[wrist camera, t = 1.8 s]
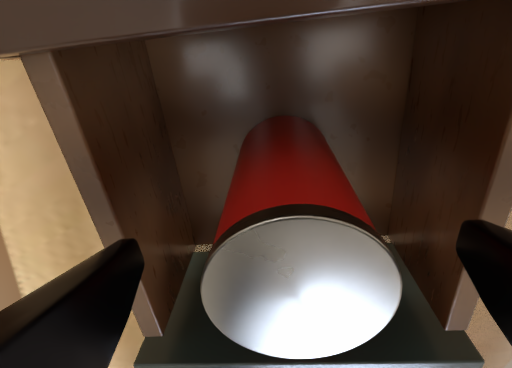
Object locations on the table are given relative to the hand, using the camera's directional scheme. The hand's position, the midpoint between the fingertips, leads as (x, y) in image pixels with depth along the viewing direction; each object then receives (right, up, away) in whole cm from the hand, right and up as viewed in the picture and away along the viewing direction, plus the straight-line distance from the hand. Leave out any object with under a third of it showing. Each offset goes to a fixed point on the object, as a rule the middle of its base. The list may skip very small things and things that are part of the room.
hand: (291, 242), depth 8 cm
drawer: (+1, +2, +7) cm, 7 cm away
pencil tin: (0, +3, +5) cm, 6 cm away
